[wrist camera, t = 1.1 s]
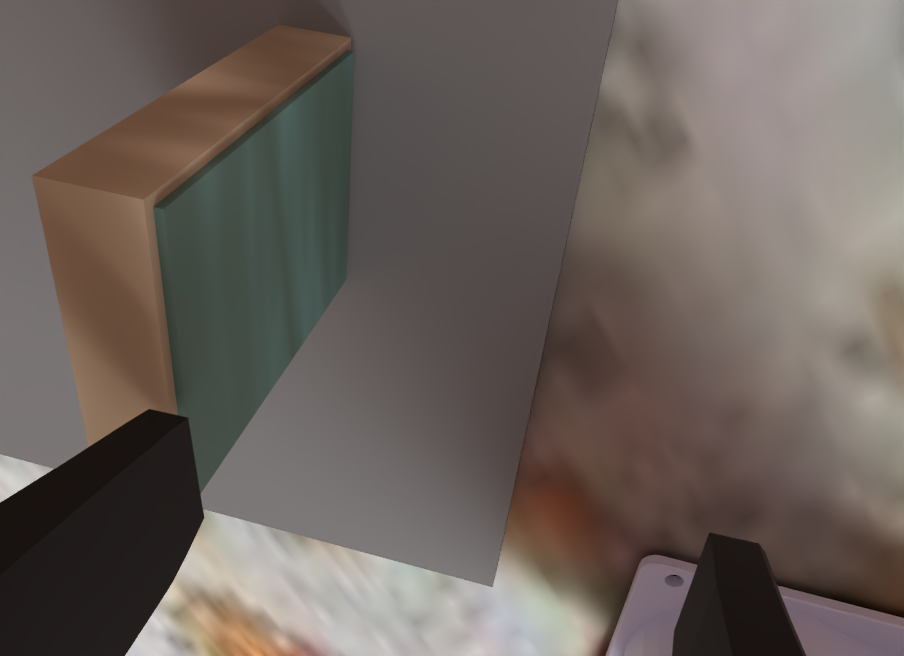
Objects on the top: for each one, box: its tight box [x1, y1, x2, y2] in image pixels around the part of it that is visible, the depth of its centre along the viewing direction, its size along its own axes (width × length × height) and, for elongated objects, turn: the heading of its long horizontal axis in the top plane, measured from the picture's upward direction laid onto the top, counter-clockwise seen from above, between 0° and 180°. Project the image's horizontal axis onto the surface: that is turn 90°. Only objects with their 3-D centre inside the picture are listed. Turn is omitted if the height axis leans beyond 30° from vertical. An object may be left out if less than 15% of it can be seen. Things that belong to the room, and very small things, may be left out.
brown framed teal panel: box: [32, 25, 354, 494], centre depth 16 cm, size 2×6×8 cm, turn 175°
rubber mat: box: [0, 0, 618, 587], centre depth 21 cm, size 18×22×1 cm
